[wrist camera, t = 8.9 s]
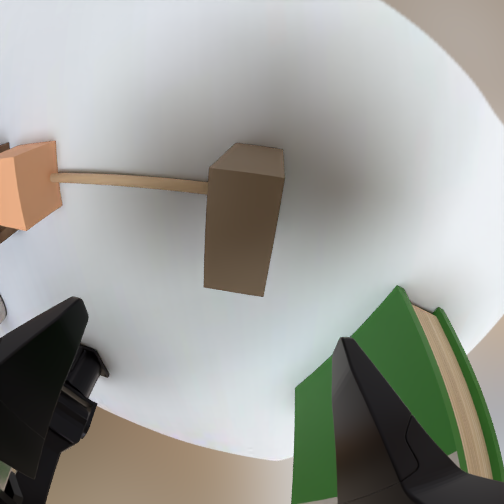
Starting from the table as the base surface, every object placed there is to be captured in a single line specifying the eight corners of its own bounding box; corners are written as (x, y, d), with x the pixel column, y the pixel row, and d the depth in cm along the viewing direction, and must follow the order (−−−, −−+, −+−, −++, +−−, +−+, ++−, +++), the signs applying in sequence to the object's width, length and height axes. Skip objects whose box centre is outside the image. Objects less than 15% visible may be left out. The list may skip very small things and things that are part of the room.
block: (269, 232, 19) (263, 296, 13) (26, 201, 20) (-21, 234, 14) (283, 149, 16) (284, 178, 10) (18, 145, 17) (-35, 169, 11)
